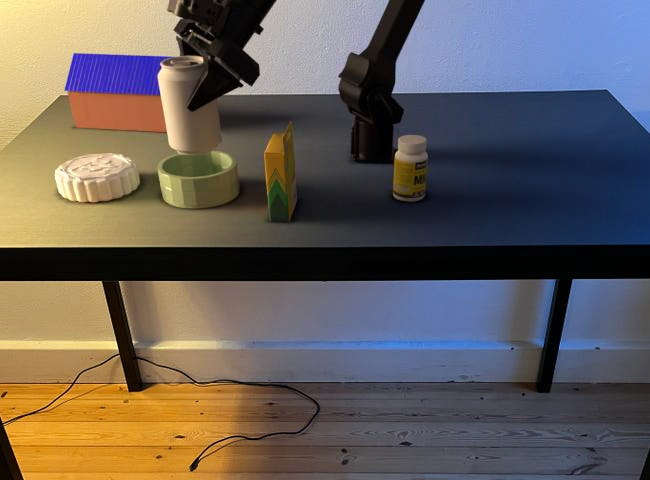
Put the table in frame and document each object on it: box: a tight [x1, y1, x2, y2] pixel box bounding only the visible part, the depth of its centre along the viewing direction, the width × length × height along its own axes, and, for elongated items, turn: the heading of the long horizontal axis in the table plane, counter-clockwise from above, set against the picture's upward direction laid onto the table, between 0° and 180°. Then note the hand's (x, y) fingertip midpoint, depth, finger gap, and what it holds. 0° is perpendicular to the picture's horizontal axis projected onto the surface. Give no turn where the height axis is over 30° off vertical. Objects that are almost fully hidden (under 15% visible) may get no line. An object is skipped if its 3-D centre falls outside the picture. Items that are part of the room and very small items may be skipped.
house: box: [64, 52, 173, 133], centre depth 126 cm, size 12×20×12 cm, turn 79°
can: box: [158, 55, 223, 155], centre depth 95 cm, size 8×8×12 cm
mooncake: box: [54, 152, 141, 203], centre depth 103 cm, size 12×12×4 cm
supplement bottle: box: [392, 134, 429, 203], centre depth 98 cm, size 5×5×8 cm
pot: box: [157, 149, 241, 210], centre depth 101 cm, size 11×11×4 cm
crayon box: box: [263, 120, 298, 222], centre depth 93 cm, size 7×3×12 cm, turn 174°
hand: (179, 102), depth 94 cm, fingers closed on can, 7 cm apart
